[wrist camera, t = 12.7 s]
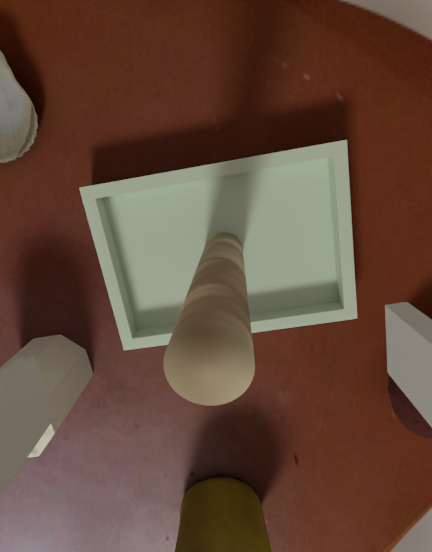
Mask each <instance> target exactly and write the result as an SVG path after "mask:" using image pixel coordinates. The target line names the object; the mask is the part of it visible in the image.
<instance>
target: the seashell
mask: <svg viewBox="0 0 432 552" xmlns="http://www.w3.org/2000/svg"><path fill="white" fill-rule="evenodd" d="M37 119H38V117H37V114H36V112H35V109H34V105H33V103H32V101H31V100H30V98H29V97H28V95H27V94H26V92H25V91H24V89H23V88H22V86H21V85H20V84H19V83H18V81H17V80H16V79H15V77H14V74H13V72H12V70H11V68H10V67H9V65H8V63H7V61H6V58H5V57H4V55H3V53H2V52H1V51H0V163H8V162H9V161H14V160H16V159H17V158H19V157H22V156H23V155H24V153H26V152H27V151H29V150H30V146H32V145H33V144H34V139H35V137H36V136H37V128H38V123H37Z"/></svg>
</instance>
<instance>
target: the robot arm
mask: <svg viewBox="0 0 432 552" xmlns="http://www.w3.org/2000/svg"><path fill="white" fill-rule="evenodd" d="M385 318H386V345H387V372H388V374H389V375H390V376H391V378H392V379H393V380H394V381H395V383H396V384H397V385H398V386H399V388H400V389H401V390H402V391H403V393H404V394H405V395H406V396H407V397H408V399H409V400H410V401H411V402H412V404H413V405H414V406H415V407H416V409H417V410H418V411H419V412H420V414H421V415H422V416H423V417H424V419H425V420H426V421H427V422H428V424H429V425H430V426H431V427H432V320H431V319H430V318H429V317H427V316H426V315H425V314H423V313H422V312H420V311H419V310H418V309H416V308H415V307H413V306H412V305H411V304H409V303H408V302H403V303H396V304H389V305H385ZM54 418H55V413H54V411H53V408H52V405H51V402H50V399H49V396H48V394H47V391H46V388H45V385H44V382H43V380H42V377H41V374H40V371H39V368H38V365H37V363H36V360H35V357H34V356H32V357H25V358H18V359H15V360H13V361H12V362H11V363H10V364H9V365H8V366H7V367H6V368H5V369H3V370H2V371H1V372H0V496H1V495H2V493H3V492H4V491H5V489H6V488H7V486H8V485H9V483H10V482H11V480H12V479H13V477H14V476H15V475H16V473H17V472H18V470H19V469H20V467H21V466H22V464H23V463H24V461H25V460H26V459H27V457H28V456H29V454H30V453H31V451H32V450H33V448H34V447H35V446H36V444H37V443H38V441H39V440H40V438H41V437H42V435H43V434H44V432H45V431H46V430H47V428H48V427H49V425H50V424H51V422H52V421H53V419H54Z"/></svg>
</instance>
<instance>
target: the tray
mask: <svg viewBox="0 0 432 552" xmlns="http://www.w3.org/2000/svg"><path fill="white" fill-rule="evenodd" d="M79 189H80V193H81V197H82V200H83V204H84V208H85V211H86V215H87V218H88V222H89V226H90V229H91V233H92V236H93V240H94V244H95V247H96V251H97V255H98V258H99V262H100V265H101V269H102V273H103V276H104V280H105V284H106V287H107V291H108V294H109V298H110V302H111V305H112V309H113V312H114V316H115V320H116V323H117V327H118V331H119V334H120V338H121V341H122V345H123V349H124V350H131V349H138V348H146V347H153V346H160V345H168V344H169V341H170V338H171V336H172V333H173V330H174V328H175V325H176V322H177V320H178V317H179V314H180V312H181V309H182V306H183V304H184V301H185V298H186V296H187V293H188V290H189V288H190V285H191V282H192V279H193V277H194V274H195V271H196V269H197V266H198V263H199V261H200V258H201V255H202V253H203V250H204V247H205V245H206V242H207V241H208V239H209V238H210V237H211V236H213V235H214V234H216V233H219V232H228V233H231V234H233V235H235V236H236V237H237V238H238V239H239V241H240V242H241V244H242V248H243V258H244V267H245V276H246V286H247V295H248V305H249V314H250V323H251V333H255V332H262V331H270V330H277V329H284V328H292V327H299V326H306V325H314V324H321V323H328V322H335V321H343V320H350V319H357V303H356V286H355V269H354V252H353V235H352V217H351V200H350V183H349V166H348V149H347V140H342V141H336V142H331V143H325V144H320V145H314V146H308V147H303V148H297V149H292V150H286V151H281V152H275V153H270V154H264V155H258V156H253V157H247V158H242V159H236V160H231V161H225V162H220V163H214V164H208V165H203V166H197V167H192V168H186V169H181V170H175V171H170V172H164V173H158V174H153V175H147V176H142V177H136V178H131V179H125V180H120V181H114V182H108V183H103V184H97V185H92V186H86V187H81V188H79Z"/></svg>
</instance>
